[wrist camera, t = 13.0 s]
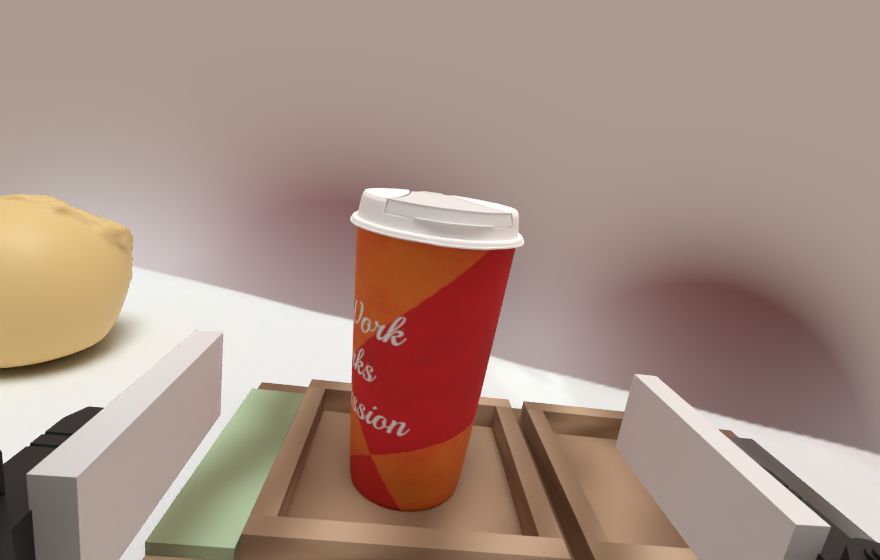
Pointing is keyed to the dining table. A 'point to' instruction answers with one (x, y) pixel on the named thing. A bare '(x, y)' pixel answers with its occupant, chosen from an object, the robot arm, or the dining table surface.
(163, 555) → the wooden compartment tray
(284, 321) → the dining table surface
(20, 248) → the sculpture
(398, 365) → the paper cup
